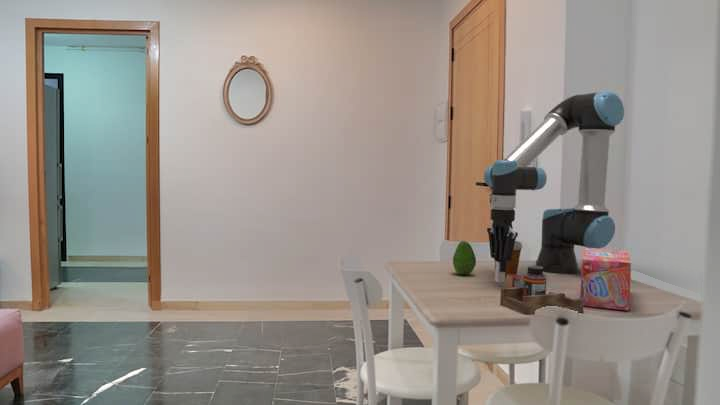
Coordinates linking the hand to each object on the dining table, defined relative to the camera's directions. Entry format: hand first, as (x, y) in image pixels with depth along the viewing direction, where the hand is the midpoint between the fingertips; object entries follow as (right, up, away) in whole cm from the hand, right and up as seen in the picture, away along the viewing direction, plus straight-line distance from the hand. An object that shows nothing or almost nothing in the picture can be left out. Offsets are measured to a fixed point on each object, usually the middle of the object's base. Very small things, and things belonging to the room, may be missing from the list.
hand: (499, 281), depth 176 cm
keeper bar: (+5, -2, -11) cm, 12 cm away
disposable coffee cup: (+7, -1, +16) cm, 18 cm away
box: (+27, -4, -14) cm, 31 cm away
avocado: (-8, 0, +16) cm, 18 cm away
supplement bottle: (+3, -4, -25) cm, 26 cm away
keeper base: (+5, -4, -27) cm, 27 cm away
